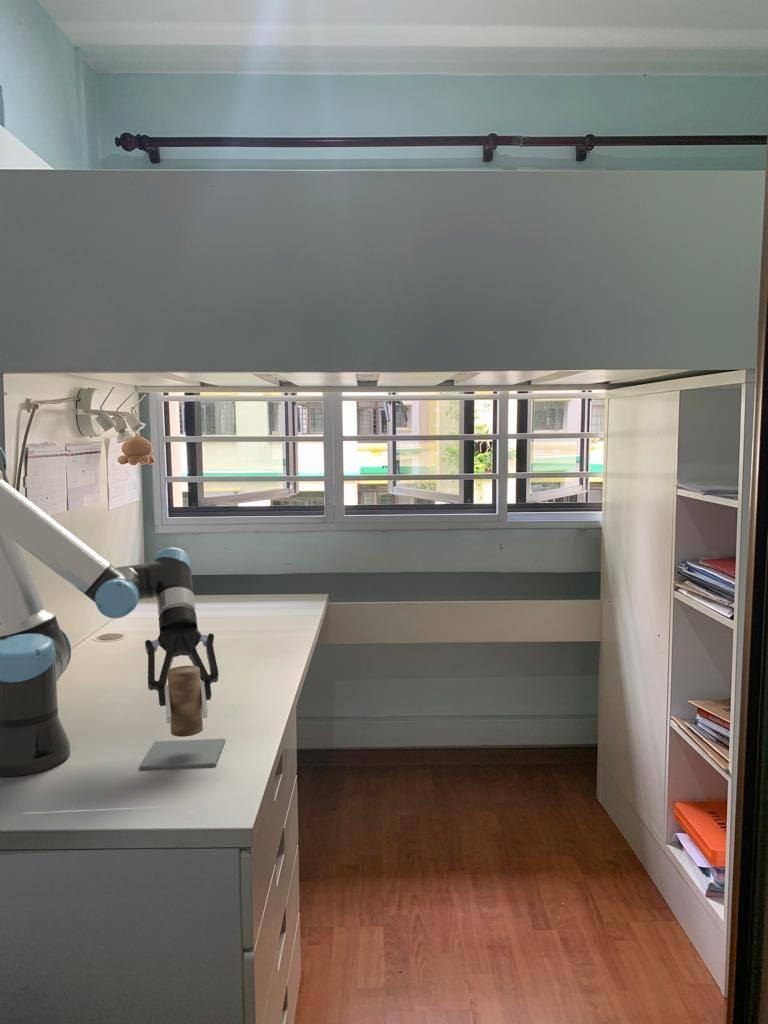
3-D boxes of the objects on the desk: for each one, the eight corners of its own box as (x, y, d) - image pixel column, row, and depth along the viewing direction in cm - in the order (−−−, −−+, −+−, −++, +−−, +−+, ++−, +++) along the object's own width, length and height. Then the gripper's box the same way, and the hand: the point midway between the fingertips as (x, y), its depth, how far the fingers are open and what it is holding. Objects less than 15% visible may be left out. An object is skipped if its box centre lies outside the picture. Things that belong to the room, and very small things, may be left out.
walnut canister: (167, 737, 145) (164, 675, 144) (174, 725, 151) (171, 666, 150) (199, 735, 145) (196, 674, 144) (205, 724, 151) (202, 665, 150)
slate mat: (139, 769, 142) (139, 766, 142) (154, 744, 154) (154, 741, 154) (215, 766, 143) (215, 763, 142) (225, 741, 154) (225, 738, 154)
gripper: (222, 619, 164) (236, 719, 150) (129, 629, 158) (135, 733, 144) (224, 600, 158) (239, 701, 144) (128, 609, 152) (133, 715, 138)
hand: (187, 717), depth 144 cm, fingers closed on walnut canister, 6 cm apart
